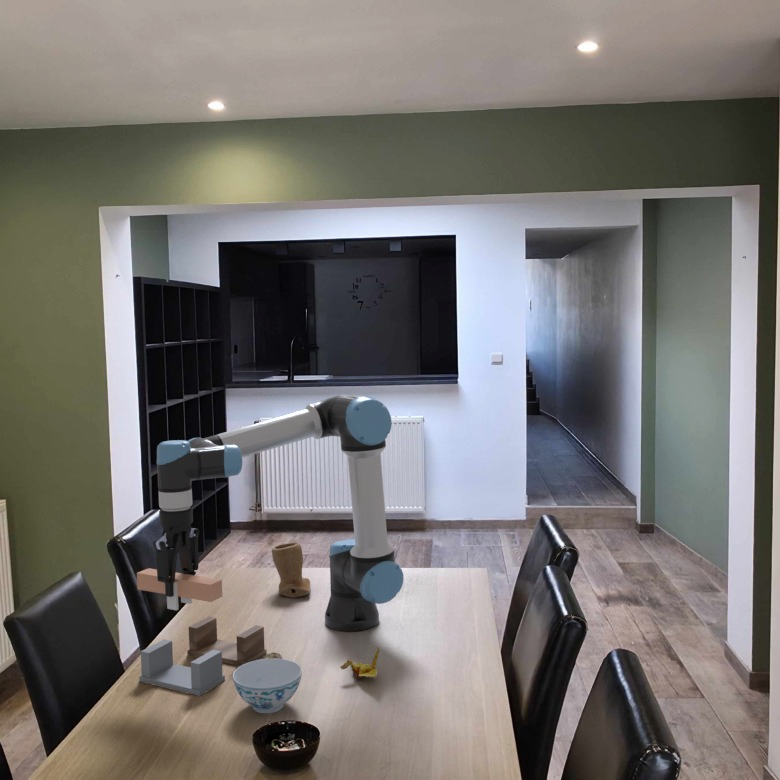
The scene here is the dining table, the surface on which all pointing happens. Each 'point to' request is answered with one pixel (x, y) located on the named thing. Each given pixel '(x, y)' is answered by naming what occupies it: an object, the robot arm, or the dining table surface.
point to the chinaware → (267, 683)
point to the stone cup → (290, 569)
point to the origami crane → (363, 667)
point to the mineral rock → (272, 656)
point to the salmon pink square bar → (182, 585)
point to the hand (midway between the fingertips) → (179, 605)
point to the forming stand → (180, 669)
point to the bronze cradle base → (226, 643)
